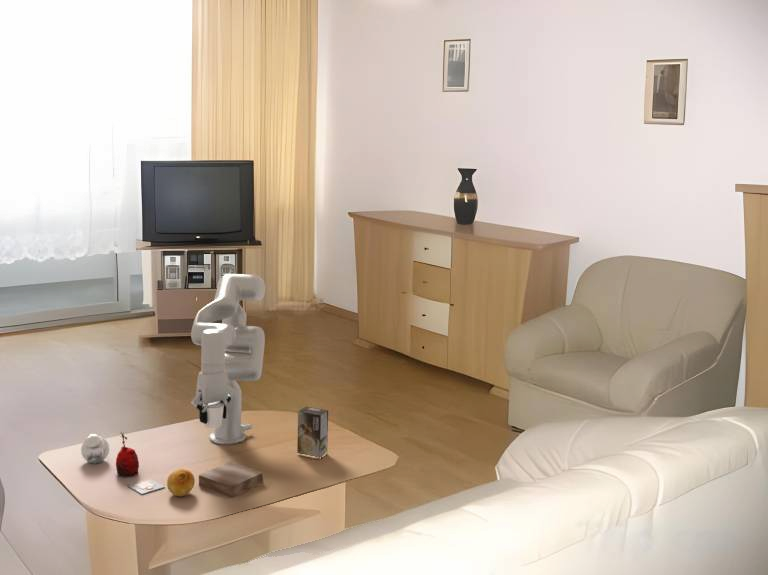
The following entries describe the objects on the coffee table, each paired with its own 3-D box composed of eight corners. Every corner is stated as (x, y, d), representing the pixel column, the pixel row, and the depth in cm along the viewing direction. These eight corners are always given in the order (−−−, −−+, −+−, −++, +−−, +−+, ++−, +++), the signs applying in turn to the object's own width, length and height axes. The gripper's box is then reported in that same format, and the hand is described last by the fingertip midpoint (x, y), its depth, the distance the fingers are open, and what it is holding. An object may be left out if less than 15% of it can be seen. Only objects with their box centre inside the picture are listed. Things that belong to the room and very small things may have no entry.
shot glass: (197, 425, 286) (197, 405, 284) (211, 419, 292) (211, 399, 290) (214, 430, 283) (214, 409, 281) (228, 423, 289) (228, 403, 287)
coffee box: (328, 454, 306) (329, 410, 303) (320, 460, 301) (321, 415, 298) (304, 449, 310) (305, 405, 307) (296, 455, 304) (297, 411, 301)
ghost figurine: (74, 464, 288) (73, 435, 287) (95, 455, 297) (94, 426, 295) (95, 470, 285) (94, 440, 283) (115, 460, 293) (115, 431, 291)
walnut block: (230, 473, 288) (230, 461, 287) (262, 484, 280) (262, 472, 279) (198, 487, 276) (198, 475, 276) (231, 499, 269) (231, 486, 268)
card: (150, 480, 279) (150, 478, 279) (164, 487, 273) (164, 486, 273) (127, 486, 273) (127, 485, 273) (141, 495, 268) (141, 493, 268)
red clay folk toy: (143, 473, 284) (143, 428, 281) (127, 480, 278) (126, 435, 275) (127, 467, 288) (126, 423, 285) (110, 474, 282) (109, 429, 279)
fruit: (192, 500, 266) (192, 475, 264) (165, 500, 265) (164, 475, 263) (196, 489, 274) (196, 464, 272) (169, 488, 273) (169, 464, 271)
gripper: (228, 359, 292) (228, 411, 296) (183, 369, 280) (183, 422, 283) (242, 365, 287) (241, 417, 291) (197, 375, 275) (197, 429, 278)
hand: (213, 419), depth 287 cm, fingers closed on shot glass, 6 cm apart
